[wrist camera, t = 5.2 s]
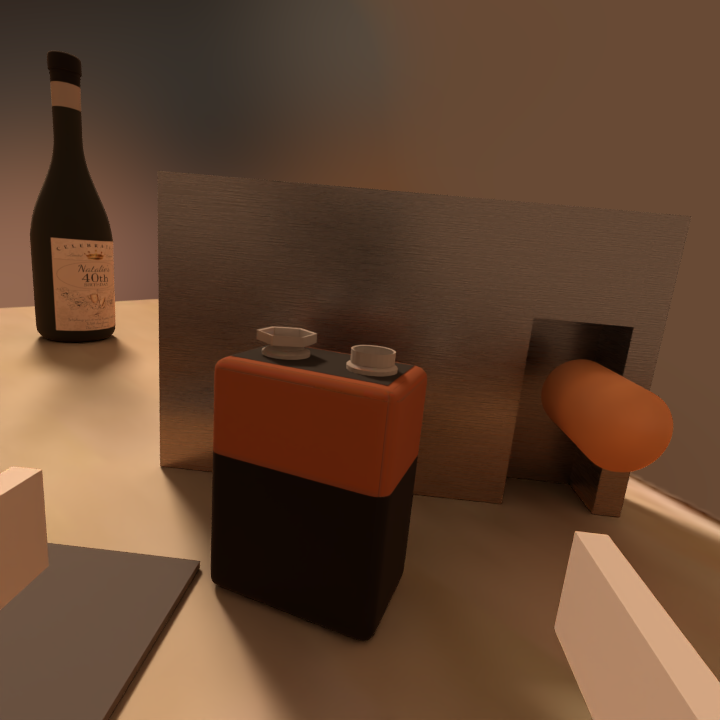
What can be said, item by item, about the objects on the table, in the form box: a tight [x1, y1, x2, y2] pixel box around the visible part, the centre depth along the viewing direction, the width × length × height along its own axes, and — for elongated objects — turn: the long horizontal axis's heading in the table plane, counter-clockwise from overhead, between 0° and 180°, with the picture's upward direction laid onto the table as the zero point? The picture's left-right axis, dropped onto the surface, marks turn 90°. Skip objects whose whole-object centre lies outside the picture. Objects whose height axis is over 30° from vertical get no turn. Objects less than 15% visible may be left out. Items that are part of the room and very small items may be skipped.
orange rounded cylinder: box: [541, 359, 673, 472], centre depth 21 cm, size 4×5×4 cm
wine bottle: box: [30, 51, 115, 342], centre depth 53 cm, size 8×8×30 cm
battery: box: [211, 326, 427, 641], centre depth 18 cm, size 4×7×10 cm, turn 69°
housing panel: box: [157, 171, 691, 517], centre depth 27 cm, size 26×4×16 cm, turn 87°
